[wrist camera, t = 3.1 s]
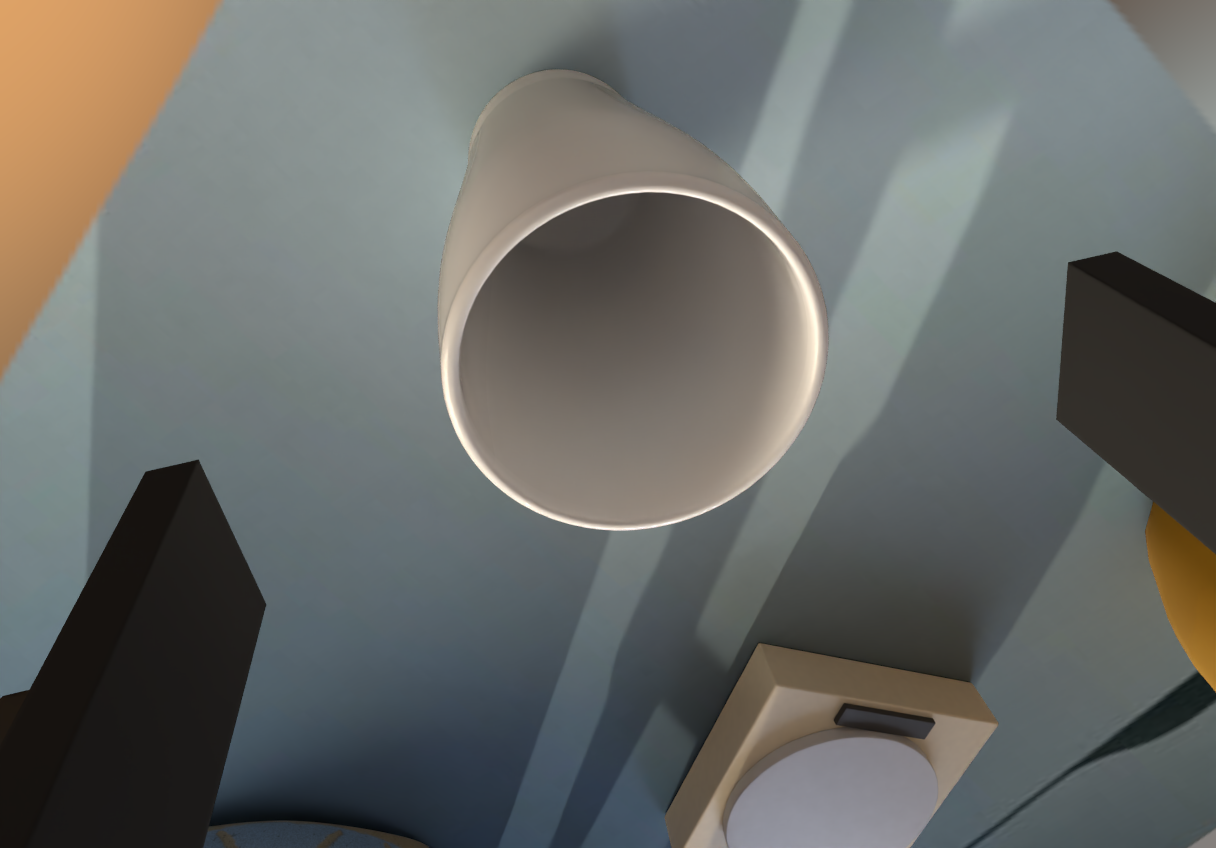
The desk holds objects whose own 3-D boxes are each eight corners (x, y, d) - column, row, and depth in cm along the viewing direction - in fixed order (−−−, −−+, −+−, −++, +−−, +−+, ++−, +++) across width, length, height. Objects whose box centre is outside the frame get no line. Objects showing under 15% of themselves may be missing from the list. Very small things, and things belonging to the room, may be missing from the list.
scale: (758, 641, 40) (780, 695, 37) (972, 682, 43) (1007, 734, 40) (663, 816, 44) (677, 876, 42) (863, 841, 47) (887, 898, 45)
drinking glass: (430, 246, 30) (412, 521, 17) (459, 16, 26) (465, 132, 13) (639, 278, 31) (772, 553, 18) (689, 63, 28) (892, 208, 15)
